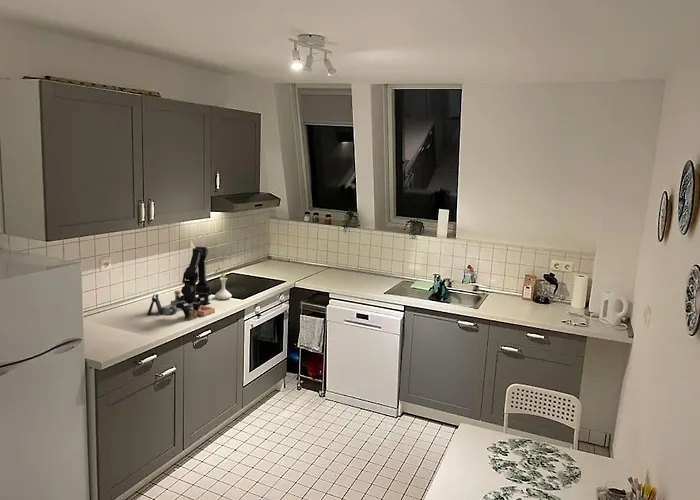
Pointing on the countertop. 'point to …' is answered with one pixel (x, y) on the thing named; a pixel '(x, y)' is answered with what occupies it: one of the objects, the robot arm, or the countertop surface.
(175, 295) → the pin
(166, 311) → the dolly
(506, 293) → the countertop surface
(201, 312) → the open tan box
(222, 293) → the flower in vase
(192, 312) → the taped cardboard box
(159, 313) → the phone stand
